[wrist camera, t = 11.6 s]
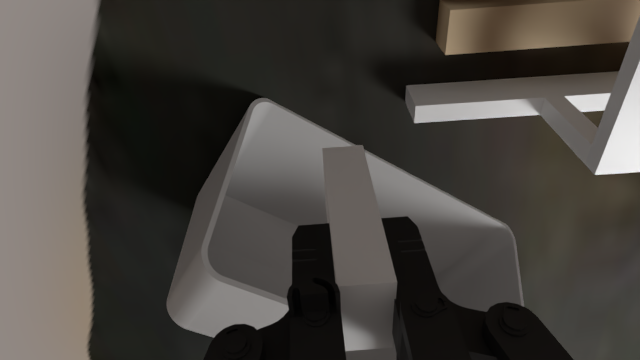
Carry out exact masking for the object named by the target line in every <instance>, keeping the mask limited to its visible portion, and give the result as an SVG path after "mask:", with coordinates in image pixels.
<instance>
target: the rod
mask: <svg viewBox="0 0 640 360" xmlns="http://www.w3.org/2000/svg"><path fill="white" fill-rule="evenodd" d="M639 16H640V0H440V3H439V13H438V23H437V33H436V43H437V44H438V46H439V47H440V49H441V50H442V51H443V53H444V54H445V55H453V54H467V53H481V52H495V51H508V50H522V49H536V48H549V47H563V46H577V45H591V44H604V43H618V42H630V40H631V38H632V35H633V32H634V30H635V27H636V24H637V22H638V19H639Z"/></svg>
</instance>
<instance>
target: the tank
mask: <svg viewBox="0 0 640 360" xmlns="http://www.w3.org/2000/svg"><path fill="white" fill-rule="evenodd" d="M345 146H357V145H355V144H353V143H351V142H349V141H347V140H345V139H343V138H341V137H339V136H338V135H336V134H334V133H332V132H330V131H328V130H326V129H324V128H322V127H320V126H319V125H317V124H315V123H313V122H311V121H309V120H307V119H305V118H303V117H301V116H300V115H298V114H296V113H294V112H292V111H290V110H288V109H286V108H284V107H282V106H281V105H279V104H277V103H275V102H273V101H271V100H269V99H267V98H259V99H256V100H254V101H253V102H252V103H251V104H250V106H249V108H248V110H247V111H246V113H245V115H244V116H243V118H242V120H241V122H240V123H239V125H238V127H237V128H236V130H235V132H234V134H233V135H232V137H231V139H230V140H229V142H228V144H227V146H226V147H225V149H224V151H223V152H222V154H221V156H220V158H219V159H218V161H217V163H216V164H215V166H214V168H213V170H212V171H211V173H210V175H209V177H208V178H207V180H206V182H205V183H204V185H203V187H202V189H201V190H200V192H199V194H198V196H197V199H196V202H195V206H194V209H193V213H192V216H191V219H190V223H189V226H188V230H187V233H186V237H185V240H184V243H183V247H182V250H181V254H180V257H179V260H178V264H177V267H176V271H175V274H174V277H173V281H172V284H171V288H170V291H169V295H168V298H167V310H168V313H169V315H170V317H171V318H172V319H173V321H174V322H175V323H177V324H178V325H179V326H181V327H183V328H185V329H188V330H191V331H194V332H197V333H201V334H204V335H207V336H211V337H215V336H216V334H218V333H219V332H220V331H222V330H223V329H224V328H226V327H229V326H231V325H234V324H247V325H250V326H253V327H255V328H256V329H257V330H258V329H260V328H263V327H265V326H268V325H271V324H273V323H275V322H277V321H278V320H280V319H281V318H282V317H283V316H284V315H285V314H286V313H287V312H288V310H289V308H288V302H287V293H288V289H289V287H290V286H291V285H292V236H293V234H294V233H295V231H296V229H297V227H298V225H312V224H325V223H327V214H326V202H325V186H324V170H323V153H322V148H331V147H345ZM364 152H365V156H366V160H367V164H368V168H369V172H370V176H371V180H372V184H373V188H374V192H375V196H376V200H377V204H378V208H379V212H380V216H381V218H391V217H404V216H408V217H409V218H410V219H411V220H412V221H413V222H414V223H415V224H416V225H417V226H418V229H419V232H420V235H421V237H422V241H423V243H424V246H425V251H426V252H427V255H428V258H429V261H430V263H431V266H432V269H433V272H434V275H435V278H436V281H437V284H438V286H439V288H440V290H441V292H442V293H443V294H444V295H445V296H446V297H447V298H448V299H449V300H450V301H452V302H453V303H455V304H457V305H459V306H462V307H465V308H469V309H474V310H479V311H484V312H487V311H488V309H489V308H490V307H491V306H493V305H495V304H497V303H503V302H510V303H515V304H519V305H521V306H523V307H524V302H523V294H522V286H521V279H520V271H519V263H518V255H517V247H516V241H515V238H514V235H513V233H512V231H511V229H510V228H509V227H508V226H507V224H505V223H503V222H501V221H499V220H497V219H495V218H493V217H491V216H490V215H488V214H486V213H484V212H482V211H480V210H478V209H476V208H474V207H472V206H471V205H469V204H467V203H465V202H463V201H461V200H459V199H457V198H455V197H453V196H452V195H450V194H448V193H446V192H444V191H442V190H440V189H438V188H436V187H434V186H433V185H431V184H429V183H427V182H425V181H423V180H421V179H419V178H417V177H415V176H414V175H412V174H410V173H408V172H406V171H404V170H402V169H400V168H398V167H396V166H395V165H393V164H391V163H389V162H387V161H385V160H383V159H381V158H379V157H377V156H376V155H374V154H372V153H370V152H368V151H366V150H364ZM345 353H346V360H396V354H397V353H396V349H395V344H394V339H393V348H380V349H368V350H355V351H345Z"/></svg>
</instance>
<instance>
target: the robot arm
mask: <svg viewBox="0 0 640 360" xmlns="http://www.w3.org/2000/svg"><path fill="white" fill-rule="evenodd" d="M322 153H323V170H324V186H325V202H326V214H327V223H325V224H312V225H298V227H297V229H296V231H295V233H294V234H293V236H292V285H291V286H290V287H289V289H288V293H287V302H288V308H289V310H288V312H287V313H286V314H285V315H284V316H283V317H282V318H281V319H280V320H278V321H277V322H275V323H273V324H271V325H268V326H265V327H263V328H260V329H258V330H257V329H256V328H255V327H253V326H250V325H247V324H234V325H231V326H229V327H226V328H224V329H223V330H222V331H220V332H219V333H218V334H216V336H215V337H214V339H213V340H212V342H211V344H210V346H209V348H208V350H207V353H206V355H205V357H204V360H346V353H345V351H355V350H368V349H380V348H393V339H394V344H395V349H396V353H397V354H396V360H573V358H572V357H571V356H570V355H569V354H568V353H567V351H566V350H565V349H564V348H563V347H562V345H561V344H560V343H559V342H558V341H557V340H556V338H555V337H554V336H553V335H552V334H551V333H550V331H549V330H548V329H547V328H546V327H545V325H544V324H543V323H542V322H541V321H540V320H539V318H538V317H537V316H536V315H535V314H533V313H532V312H531V311H530V310H529V309H527V308H525V307H523V306H521V305H519V304H515V303H510V302H503V303H497V304H495V305H493V306H491V307H490V308H489V309H488V311H487V312H484V311H479V310H474V309H469V308H465V307H462V306H459V305H457V304H455V303H453V302H452V301H450V300H449V299H448V298H447V297H446V296H445V295H444V294H443V293H442V292H441V290H440V288H439V286H438V284H437V281H436V278H435V275H434V272H433V269H432V266H431V263H430V261H429V258H428V255H427V252H426V251H425V246H424V243H423V241H422V237H421V235H420V232H419V229H418V226H417V225H416V224H415V223H414V222H413V221H412V220H411V219H410V218H409V217H408V216H404V217H391V218H381V216H380V212H379V208H378V204H377V200H376V196H375V192H374V188H373V184H372V180H371V176H370V172H369V168H368V164H367V160H366V156H365V152H364V148H363V145H358V146H345V147H331V148H322Z"/></svg>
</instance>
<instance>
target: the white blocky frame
mask: <svg viewBox="0 0 640 360" xmlns="http://www.w3.org/2000/svg"><path fill="white" fill-rule="evenodd" d="M405 102H406V105H407V107H408V110H409V112H410V114H411V117H412V119H413V121H414V123H423V122H438V121H453V120H468V119H483V118H498V117H513V116H528V115H541V116H542V118H543V119H544V120H545V121H546V122H547V123H548V124H549V125H550V126H551V127H552V129H553V130H554V131H555V132H556V133H557V134H558V135H559V136H560V137H561V138H562V140H563V141H564V142H565V143H566V144H567V145H568V146H569V147H570V148H571V150H572V151H573V152H574V153H575V154H576V155H577V156H578V157H579V158H580V159H581V161H582V162H583V163H584V164H585V165H586V166H587V167H588V168H589V169H590V170H591V172H592V173H593V174H594V175H602V174H618V173H633V172H640V16H639V19H638V22H637V24H636V27H635V30H634V32H633V35H632V38H631V40H630V43H629V46H628V49H627V51H626V54H625V57H624V59H623V62H622V65H621V67H620V70H619V71H614V72H599V73H585V74H570V75H555V76H540V77H525V78H510V79H495V80H480V81H465V82H450V83H435V84H420V85H406V96H405ZM603 110H605V111H604V113H603V116H602V119H601V121H600V124H599V127H597V126H595V125H594V124H593V123H592V122H591V121H590V120H589V119H588V118H587V117H586V116H585V115H584V114H583V113H581V112H588V111H603Z"/></svg>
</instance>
